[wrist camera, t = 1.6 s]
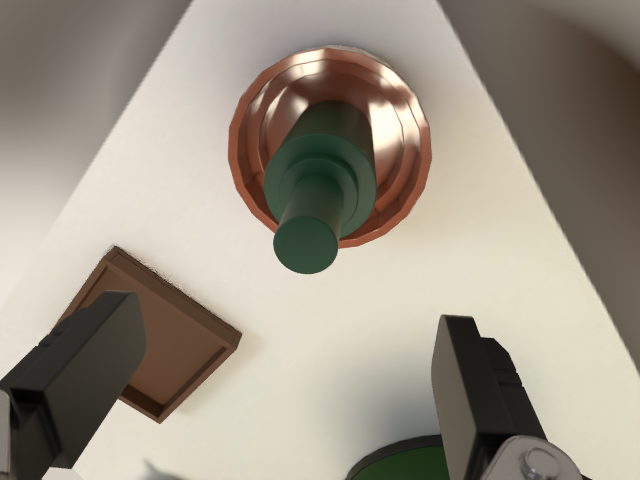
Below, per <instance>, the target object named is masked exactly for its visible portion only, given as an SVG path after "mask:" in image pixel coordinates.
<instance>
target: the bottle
mask: <svg viewBox="0 0 640 480" xmlns="http://www.w3.org/2000/svg"><path fill="white" fill-rule="evenodd" d="M264 195H265V199H266V202H267V205H268V207H269V209H270V211H271V213H272V215H273V216H274V217H275V219H276V220H277V221H278V222H279V226H278V228H277V230H276V233H275V236H274V240H273V246H274V251H275V254H276V256H277V258H278V259H279V261H280V262H281V263H282V264H283V265H284V266H285V267H287V268H288V269H290V270H292V271H294V272H297V273H301V274H314V273H318V272H321V271H323V270H325V269H326V268H328V267H329V266H330V265H331V264H332V263H333V261H334V260H335V258H336V256H337V252H338V245H339V238H342V237H345V236H347V235H349V234H351V233H353V232H354V231H355V230H357V229H358V228H359V227H360V226H361V225H363V223H364V222H365V221H366V220H367V219H368V217H369V216H370V214H371V212H372V210H373V208H374V205H375V202H376V197H377V178H376V167H375V156H374V145H373V135H372V130H371V127H370V124H369V122H368V120H367V119H366V117H365V116H364V115H363V113H362V112H361V111H360V110H358V109H357V108H356V107H355V106H353V105H351V104H349V103H346V102H344V101H340V100H325V101H321V102H318V103H316V104H313V105H312V106H310V107H309V108H307V109H306V110H305V111H304V112H303V113H302V114H301V115H300V117H299V118H298V120H297V121H296V123H295V124H294V126H293V127H292V129H291V130H290V132H289V133H288V135H287V136H286V137H285V139H284V140H283V142H282V143H281V145H280V146H279V148H278V149H277V151H276V152H275V154H274V155H273V157H272V158H271V160H270V162H269V164H268V166H267V169H266V172H265V176H264Z"/></svg>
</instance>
